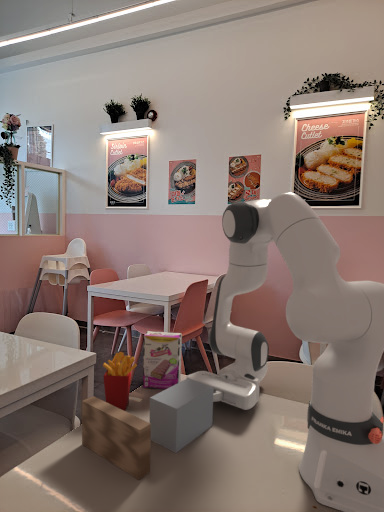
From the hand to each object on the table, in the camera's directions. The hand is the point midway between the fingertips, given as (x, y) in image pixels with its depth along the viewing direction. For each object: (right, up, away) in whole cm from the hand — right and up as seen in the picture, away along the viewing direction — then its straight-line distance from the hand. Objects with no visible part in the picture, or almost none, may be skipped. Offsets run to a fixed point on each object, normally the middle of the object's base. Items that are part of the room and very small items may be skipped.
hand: (203, 399), depth 93 cm
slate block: (-5, -5, -6) cm, 10 cm away
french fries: (-22, -4, +6) cm, 23 cm away
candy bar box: (-12, -3, +18) cm, 22 cm away
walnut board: (-19, -6, -16) cm, 26 cm away
